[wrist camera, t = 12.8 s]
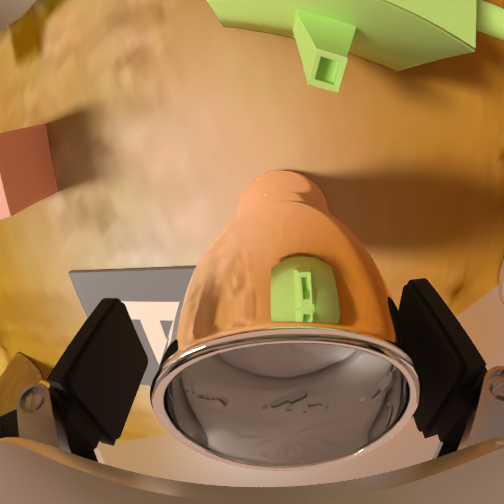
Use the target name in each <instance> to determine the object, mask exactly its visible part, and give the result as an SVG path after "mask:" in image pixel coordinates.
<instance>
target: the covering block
mask: <svg viewBox="0 0 504 504" xmlns="http://www.w3.org/2000/svg"><path fill="white" fill-rule="evenodd" d="M58 191H59V189H58V185H57V181H56V177H55V172H54V167H53V162H52V157H51V152H50V146H49V140H48V134H47V127H46V124H42V125H37V126H32V127H27V128H22V129H17V130H13V131H8V132H4V133H0V220H1V219H4V218H7V217H11V216H12V215H14V214H16V213H18V212H20V211H21V210H23V209H25V208H27V207H29V206H31V205H32V204H34V203H36V202H38V201H40V200H42V199H44V198H46V197H48V196H50V195H52V194H54V193H56V192H58Z"/></svg>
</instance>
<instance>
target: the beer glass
mask: <svg viewBox="0 0 504 504" xmlns="http://www.w3.org/2000/svg"><path fill="white" fill-rule="evenodd" d="M236 215H237V217H236V218H235V219H233V220H232V221H231V222H230V223H229V224H228V225H227V226H226V227H225V228H224V229H223V230H222V231H221V232H220V233H219V235H218V236H217V237H216V238H215V239H214V240H213V241H212V243H211V244H210V245H209V246H208V248H207V249H206V251H205V252H204V254H203V256H202V258H201V259H200V261H199V263H198V264H197V266H196V268H195V270H194V271H193V273H192V275H191V277H190V279H189V282H188V284H187V286H186V289H185V291H184V293H183V296H182V298H181V300H180V303H179V305H178V308H177V311H176V314H175V317H174V320H173V323H172V326H171V329H170V332H169V335H168V338H167V342H166V345H165V348H164V352H163V355H162V358H161V362H160V365H159V368H158V371H157V373H156V375H155V377H154V379H153V381H152V384H151V389H150V400H151V405H152V408H153V411H154V413H155V415H156V417H157V419H158V420H159V422H160V423H161V424H162V426H163V427H164V428H165V429H166V430H167V431H168V432H169V433H170V434H171V435H173V437H175V438H176V439H177V440H178V441H180V442H181V443H183V444H184V445H186V446H187V447H189V448H191V449H193V450H194V451H196V452H198V453H200V454H202V455H205V456H207V457H210V458H212V459H215V460H218V461H221V462H224V463H227V464H231V465H235V466H240V467H245V468H251V469H258V470H270V471H271V470H272V471H293V470H306V469H313V468H319V467H325V466H329V465H333V464H337V463H340V462H344V461H347V460H350V459H353V458H355V457H358V456H360V455H363V454H365V453H367V452H369V451H371V450H373V449H375V448H377V447H378V446H380V445H381V444H383V443H384V442H386V441H388V440H389V439H390V438H392V437H393V436H394V435H396V434H397V433H398V432H399V431H400V430H401V429H402V428H403V427H404V426H405V425H406V424H407V423H408V422H409V421H410V419H411V418H412V417H413V415H414V414H415V412H416V410H417V408H418V406H419V404H420V401H421V398H422V393H423V381H422V376H421V373H420V370H419V368H418V366H417V365H416V362H415V360H414V356H413V353H412V350H411V347H410V344H409V341H408V338H407V335H406V331H405V328H404V325H403V323H402V320H401V317H400V315H399V312H398V309H397V307H396V304H395V302H394V299H393V297H392V294H391V292H390V290H389V288H388V286H387V284H386V282H385V280H384V278H383V276H382V274H381V272H380V270H379V268H378V267H377V265H376V263H375V262H374V260H373V259H372V257H371V256H370V254H369V253H368V251H367V250H366V249H365V247H364V246H363V244H362V243H361V242H360V240H359V239H358V238H357V237H356V236H355V235H354V234H353V233H352V232H351V231H350V230H349V229H348V228H347V227H346V226H345V225H344V224H343V223H342V222H340V221H339V220H338V219H337V218H335V217H334V216H333V215H331V214H330V213H329V212H328V206H327V202H326V200H325V197H324V195H323V193H322V192H321V190H320V189H319V187H318V186H317V185H316V184H315V183H314V182H313V181H312V180H310V179H309V178H307V177H306V176H304V175H301V174H299V173H296V172H292V171H273V172H269V173H266V174H263V175H261V176H259V177H258V178H256V179H255V180H254V181H252V182H251V183H250V184H249V185H248V186H247V187H246V189H245V190H244V191H243V193H242V195H241V197H240V199H239V202H238V206H237V214H236Z"/></svg>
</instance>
